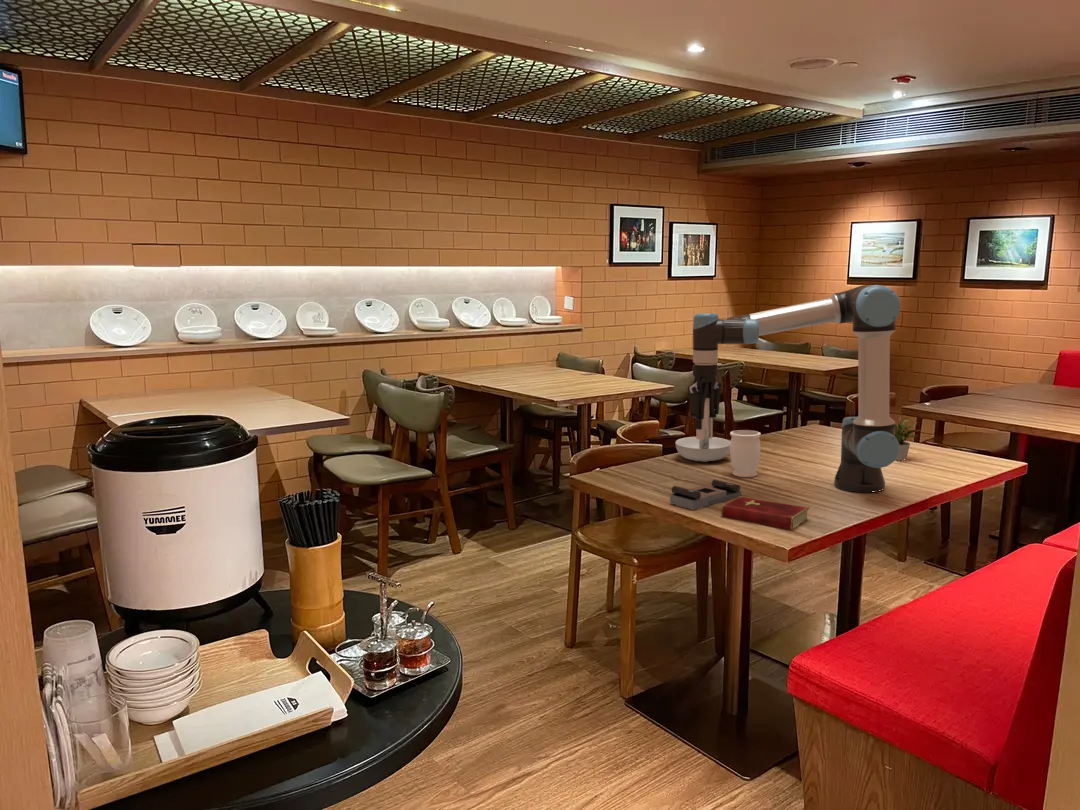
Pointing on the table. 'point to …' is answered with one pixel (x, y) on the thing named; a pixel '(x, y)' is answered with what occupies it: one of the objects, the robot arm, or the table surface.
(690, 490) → the plate with two rollers
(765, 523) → the hardcover book
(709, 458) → the serving bowl
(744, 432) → the jar
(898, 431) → the house plant
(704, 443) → the link pin
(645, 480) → the table surface
